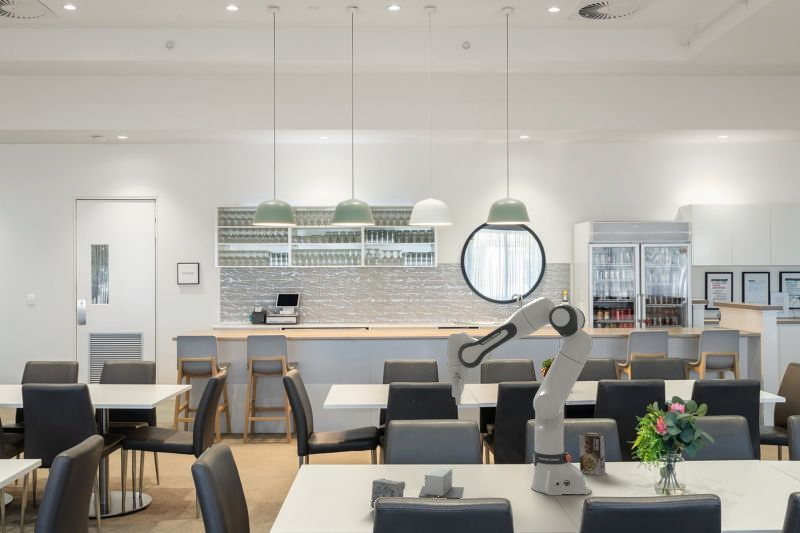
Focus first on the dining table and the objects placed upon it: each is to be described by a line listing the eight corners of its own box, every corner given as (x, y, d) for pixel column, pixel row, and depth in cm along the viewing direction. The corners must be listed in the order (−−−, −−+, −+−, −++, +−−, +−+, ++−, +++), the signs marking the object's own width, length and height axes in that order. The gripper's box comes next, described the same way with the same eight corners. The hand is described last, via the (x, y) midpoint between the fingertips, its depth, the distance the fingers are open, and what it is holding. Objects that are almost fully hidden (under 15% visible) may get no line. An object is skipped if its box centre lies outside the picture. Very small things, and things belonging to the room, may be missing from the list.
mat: (463, 488, 274) (463, 487, 274) (461, 498, 262) (461, 497, 262) (422, 486, 277) (422, 485, 277) (418, 497, 264) (418, 496, 264)
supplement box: (434, 485, 278) (423, 494, 266) (434, 466, 278) (424, 474, 266) (452, 487, 275) (442, 496, 263) (452, 468, 275) (442, 476, 263)
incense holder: (405, 508, 252) (405, 478, 252) (395, 515, 244) (394, 485, 245) (381, 504, 256) (381, 475, 257) (370, 511, 249) (370, 481, 249)
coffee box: (605, 472, 295) (605, 433, 295) (601, 476, 289) (600, 436, 290) (584, 469, 300) (583, 431, 300) (579, 473, 294) (578, 434, 294)
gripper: (464, 374, 283) (464, 409, 282) (466, 368, 303) (467, 400, 303) (448, 374, 283) (448, 409, 283) (452, 368, 304) (452, 400, 303)
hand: (458, 404), depth 293 cm, fingers closed
